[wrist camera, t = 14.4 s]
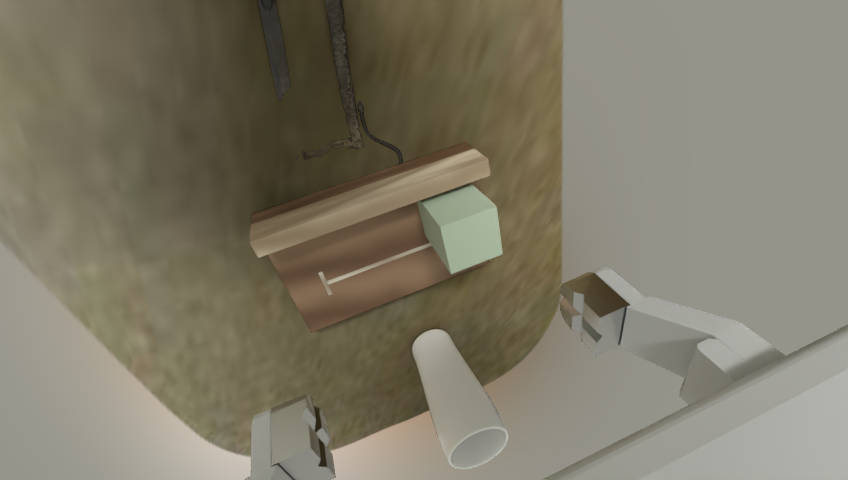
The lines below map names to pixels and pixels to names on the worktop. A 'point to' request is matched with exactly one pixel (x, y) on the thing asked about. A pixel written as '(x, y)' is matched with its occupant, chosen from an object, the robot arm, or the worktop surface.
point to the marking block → (461, 227)
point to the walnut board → (363, 236)
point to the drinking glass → (457, 403)
